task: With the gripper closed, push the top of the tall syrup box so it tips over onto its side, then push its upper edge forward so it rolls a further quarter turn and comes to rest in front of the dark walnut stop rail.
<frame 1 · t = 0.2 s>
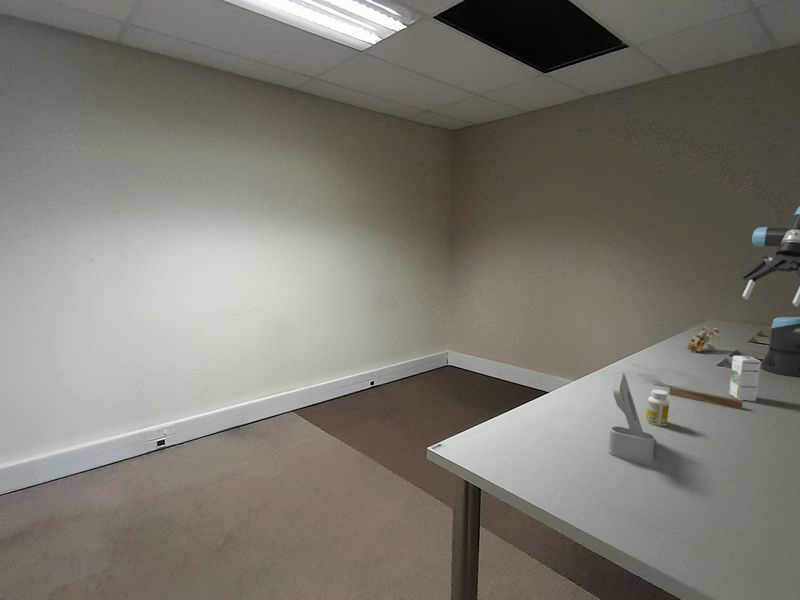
hand: (768, 301, 137), 34 cm above the table, tool tilted 30°, fingers open, 13 cm apart
phone holder: (630, 446, 109), on the table
syrup box: (741, 398, 143), on the table
supplement bottle: (656, 422, 124), on the table
walnut stop rail: (703, 400, 140), on the table
voxel character: (704, 352, 201), on the table
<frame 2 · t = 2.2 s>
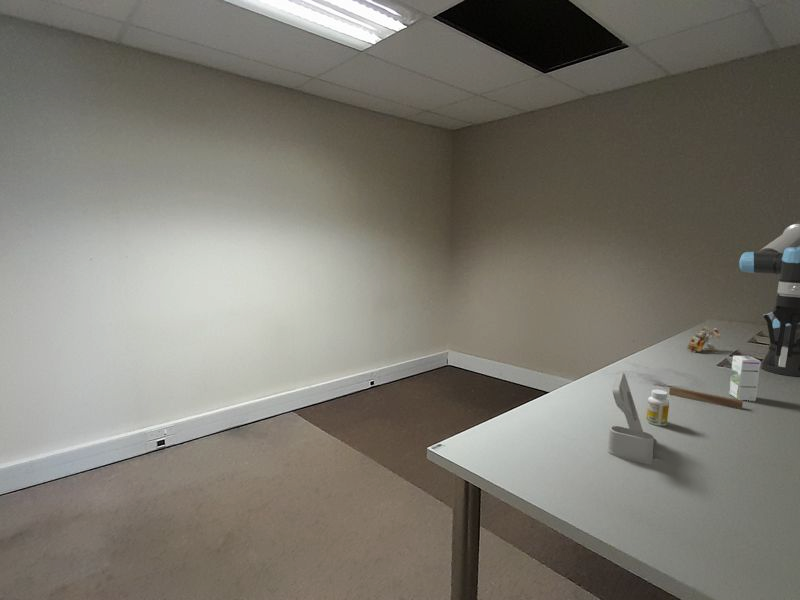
hand: (781, 365, 135), 14 cm above the table, tool pointing down, fingers closed
nothing on the table moved.
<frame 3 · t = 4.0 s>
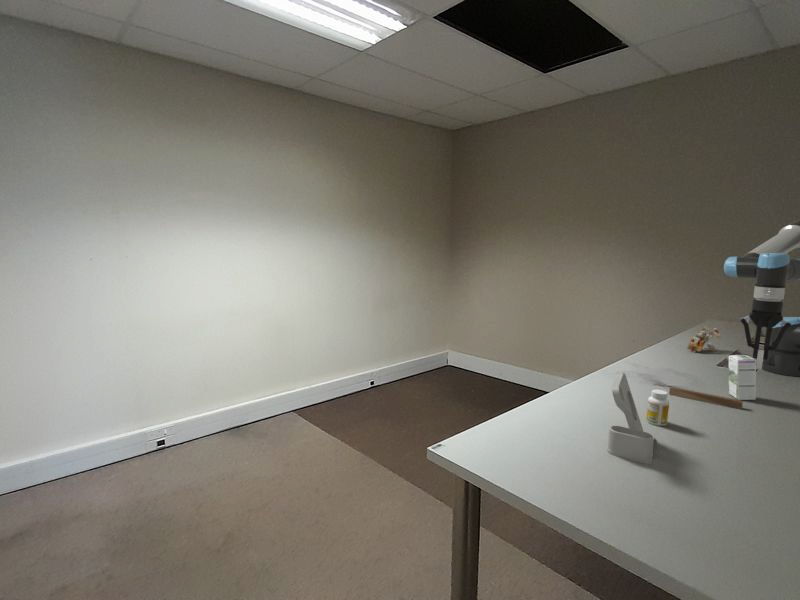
hand: (758, 368, 139), 12 cm above the table, tool pointing down, fingers closed
syrup box: (741, 397, 143), on the table, touching gripper
everything else where it was.
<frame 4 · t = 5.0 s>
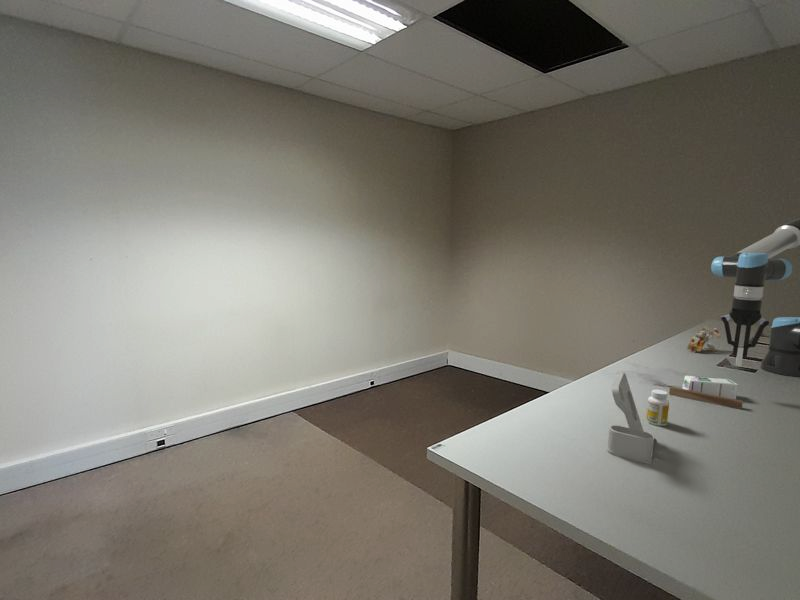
hand: (738, 365, 143), 11 cm above the table, tool pointing down, fingers closed
syrup box: (733, 389, 143), point 3 cm above the table
everything else where it was.
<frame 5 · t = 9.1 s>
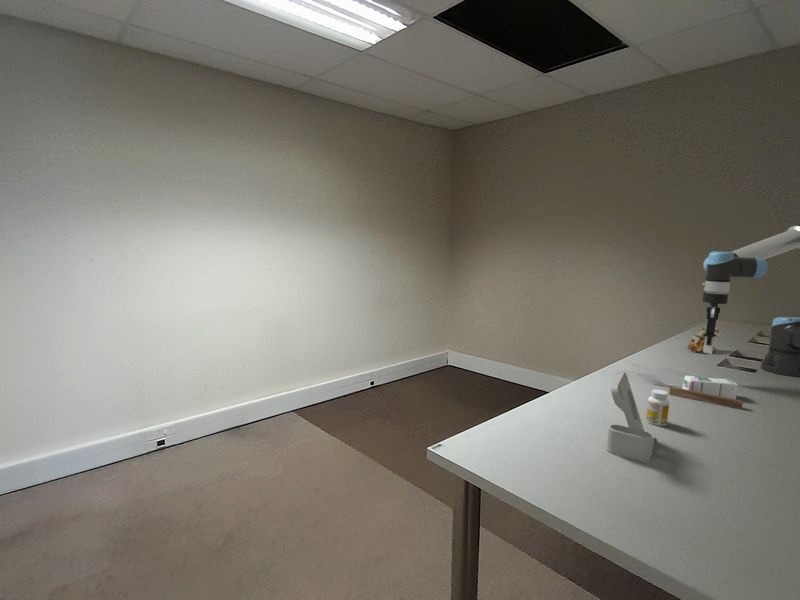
hand: (707, 352, 158), 11 cm above the table, tool pointing down, fingers closed
nothing on the table moved.
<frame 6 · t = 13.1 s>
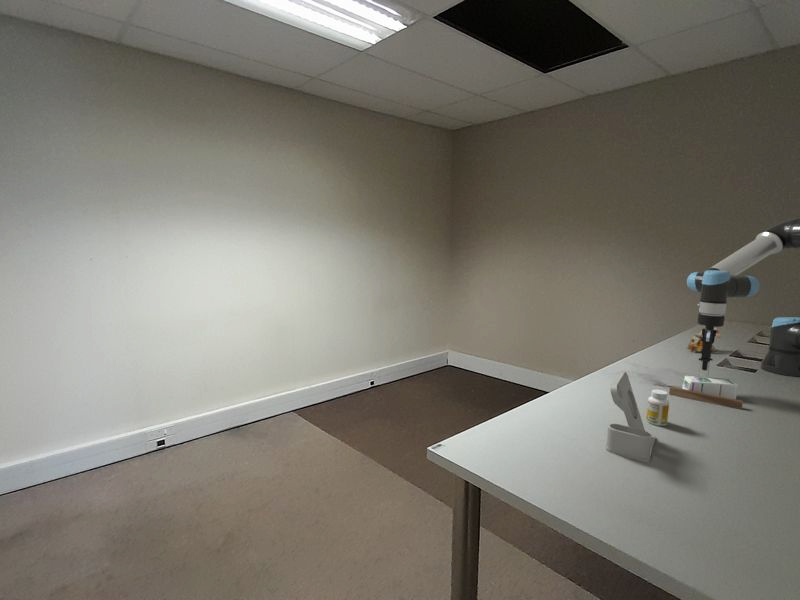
hand: (703, 377, 148), 5 cm above the table, tool pointing down, fingers closed
syrup box: (733, 389, 143), point 3 cm above the table, touching gripper
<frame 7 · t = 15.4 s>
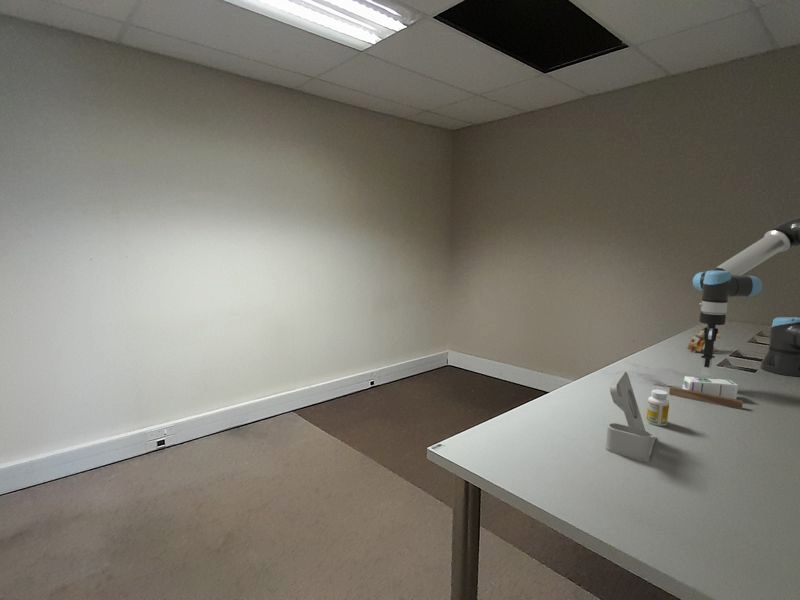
hand: (705, 374, 153), 5 cm above the table, tool pointing down, fingers closed
syrup box: (733, 390, 143), point 3 cm above the table
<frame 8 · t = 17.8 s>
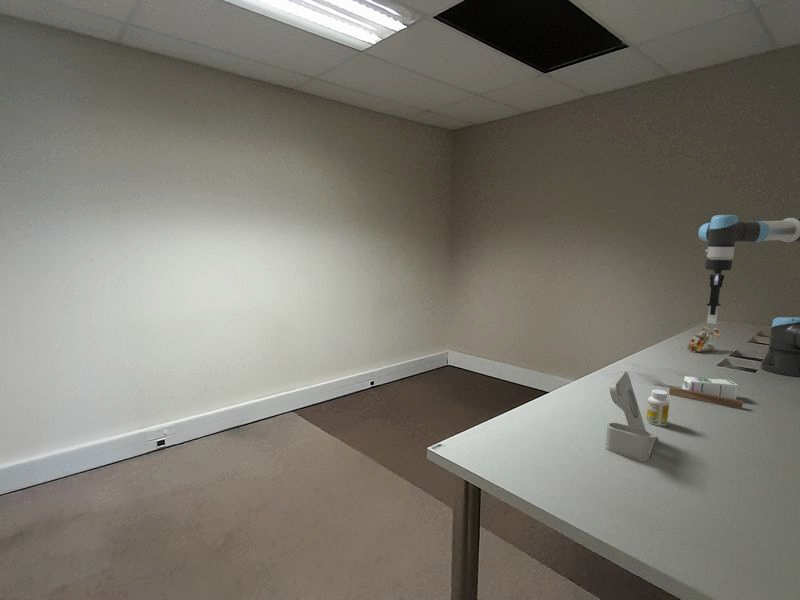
hand: (711, 323, 150), 24 cm above the table, tool pointing down, fingers closed
at the end: syrup box tilted 89°; syrup box inside the target area (7.2 cm from its centre), point 2.7 cm above the table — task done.
